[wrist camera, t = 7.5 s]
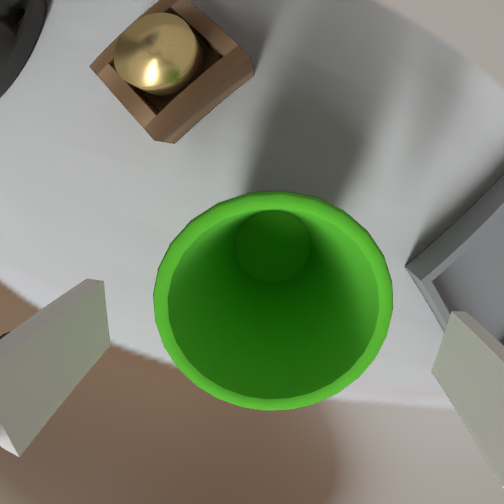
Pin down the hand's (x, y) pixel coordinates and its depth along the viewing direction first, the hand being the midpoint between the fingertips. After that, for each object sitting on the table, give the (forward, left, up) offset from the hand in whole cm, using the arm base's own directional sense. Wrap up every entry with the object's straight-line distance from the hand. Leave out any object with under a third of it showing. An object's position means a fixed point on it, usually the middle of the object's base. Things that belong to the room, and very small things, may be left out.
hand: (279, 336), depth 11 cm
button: (-13, +3, -9) cm, 16 cm away
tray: (+14, +14, -12) cm, 23 cm away
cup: (0, 0, -12) cm, 12 cm away
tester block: (-13, +3, -12) cm, 18 cm away
